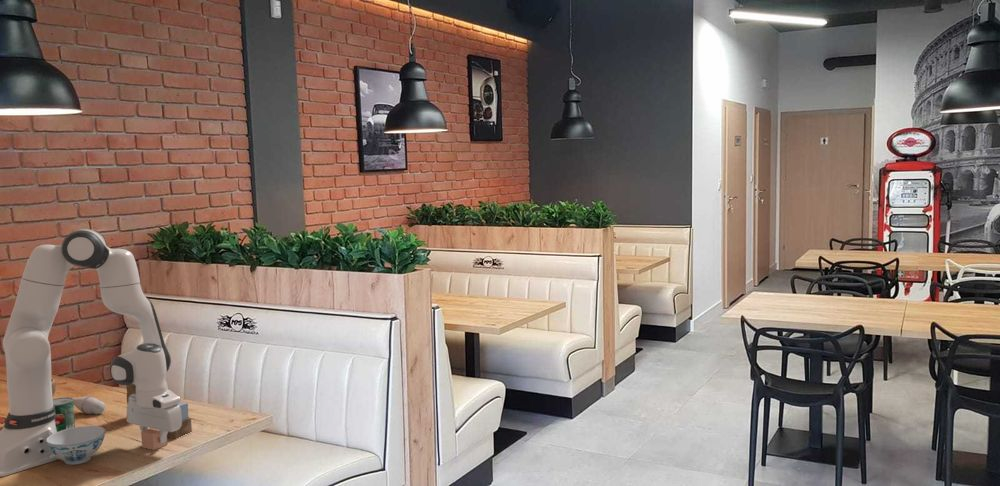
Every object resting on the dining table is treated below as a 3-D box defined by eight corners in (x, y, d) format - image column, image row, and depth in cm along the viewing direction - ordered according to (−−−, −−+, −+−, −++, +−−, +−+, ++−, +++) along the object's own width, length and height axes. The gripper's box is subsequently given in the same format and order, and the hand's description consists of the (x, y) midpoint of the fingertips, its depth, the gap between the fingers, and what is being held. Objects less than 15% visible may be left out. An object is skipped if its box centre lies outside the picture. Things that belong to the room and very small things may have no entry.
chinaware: (116, 449, 225) (114, 425, 224) (90, 470, 210) (88, 443, 210) (66, 450, 225) (64, 426, 224) (37, 471, 210) (34, 445, 209)
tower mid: (175, 423, 234) (174, 407, 233) (164, 421, 236) (163, 405, 235) (188, 418, 238) (187, 403, 238) (177, 416, 240) (176, 401, 240)
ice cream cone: (67, 410, 262) (103, 420, 259) (57, 404, 257) (93, 414, 254) (76, 394, 265) (112, 403, 262) (67, 388, 260) (103, 397, 257)
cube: (153, 450, 224) (152, 434, 224) (142, 447, 226) (141, 431, 226) (167, 444, 229) (166, 428, 228) (156, 442, 231) (155, 426, 230)
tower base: (176, 439, 234) (175, 424, 233) (163, 436, 236) (162, 421, 236) (191, 433, 239) (191, 418, 239) (178, 430, 242) (177, 415, 241)
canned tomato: (43, 439, 234) (41, 406, 233) (51, 431, 242) (49, 398, 241) (71, 437, 236) (69, 403, 235) (78, 428, 244) (76, 396, 243)
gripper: (119, 395, 228) (122, 439, 229) (166, 404, 219) (169, 449, 220) (137, 389, 233) (140, 432, 235) (184, 398, 224) (186, 442, 226)
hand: (154, 440), depth 227 cm, fingers closed on cube, 5 cm apart
